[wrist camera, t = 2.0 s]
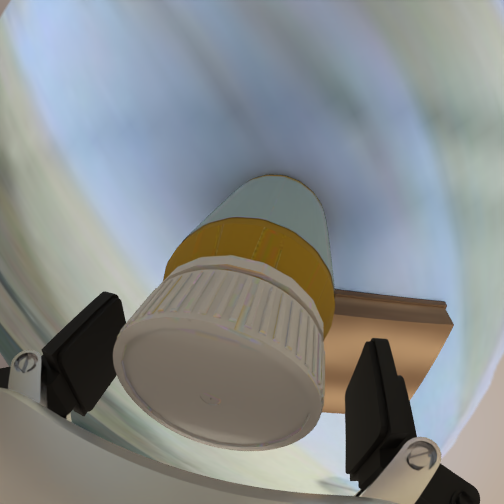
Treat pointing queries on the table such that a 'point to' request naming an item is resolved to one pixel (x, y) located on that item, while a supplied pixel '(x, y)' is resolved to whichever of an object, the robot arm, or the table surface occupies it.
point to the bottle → (238, 323)
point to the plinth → (386, 327)
